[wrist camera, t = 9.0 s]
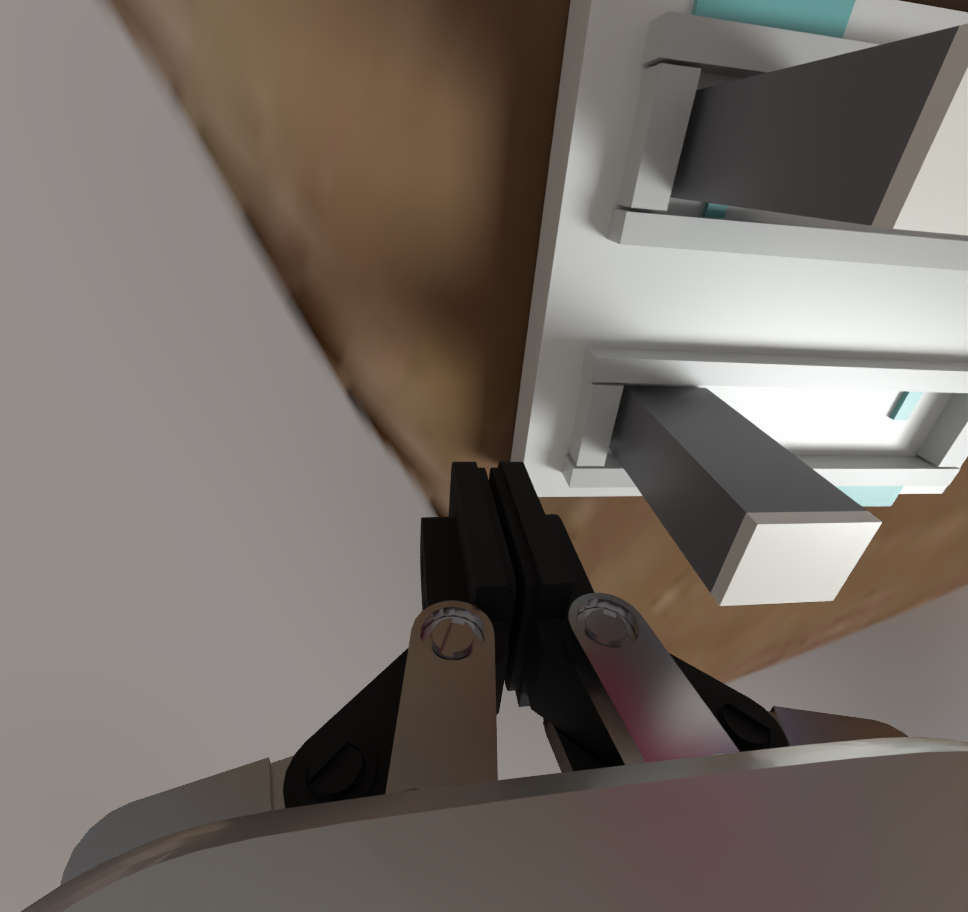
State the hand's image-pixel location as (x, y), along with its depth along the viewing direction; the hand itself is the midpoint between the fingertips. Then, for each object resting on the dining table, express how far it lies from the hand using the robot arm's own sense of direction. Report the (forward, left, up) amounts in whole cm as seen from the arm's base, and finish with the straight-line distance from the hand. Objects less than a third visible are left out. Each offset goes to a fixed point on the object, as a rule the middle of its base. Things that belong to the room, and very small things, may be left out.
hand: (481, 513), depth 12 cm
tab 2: (-7, 0, -5) cm, 9 cm away
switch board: (-12, -4, -7) cm, 15 cm away
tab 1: (-7, -8, -5) cm, 12 cm away
